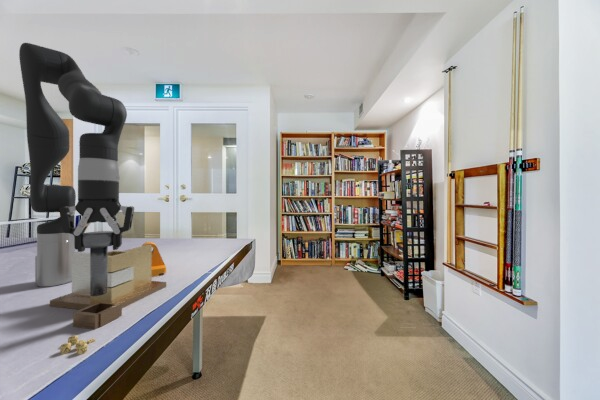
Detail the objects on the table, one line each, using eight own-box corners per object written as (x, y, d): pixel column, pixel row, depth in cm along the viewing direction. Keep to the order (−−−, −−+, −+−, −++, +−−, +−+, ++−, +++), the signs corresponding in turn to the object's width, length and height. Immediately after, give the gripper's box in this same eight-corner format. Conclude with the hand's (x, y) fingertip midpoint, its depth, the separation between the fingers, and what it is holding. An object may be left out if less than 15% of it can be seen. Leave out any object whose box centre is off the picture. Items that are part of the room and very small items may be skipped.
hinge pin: (75, 297, 56) (75, 234, 56) (100, 287, 62) (100, 230, 62) (97, 299, 55) (97, 235, 55) (121, 289, 61) (121, 231, 61)
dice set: (83, 357, 46) (84, 347, 46) (52, 360, 45) (52, 350, 45) (100, 342, 51) (100, 332, 51) (72, 344, 50) (72, 335, 50)
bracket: (132, 280, 88) (132, 246, 88) (132, 274, 94) (132, 243, 94) (166, 274, 94) (166, 243, 94) (164, 270, 100) (164, 240, 100)
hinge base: (13, 318, 59) (13, 261, 59) (115, 282, 85) (115, 242, 85) (96, 329, 55) (96, 267, 55) (176, 287, 81) (176, 245, 80)
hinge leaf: (133, 292, 71) (133, 252, 71) (111, 301, 65) (111, 258, 64) (86, 287, 74) (86, 249, 74) (60, 296, 68) (60, 255, 68)
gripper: (50, 177, 52) (50, 256, 52) (131, 179, 58) (131, 251, 58) (67, 179, 59) (67, 249, 59) (138, 181, 65) (138, 245, 65)
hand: (99, 249), depth 59 cm, fingers closed on hinge pin, 6 cm apart
